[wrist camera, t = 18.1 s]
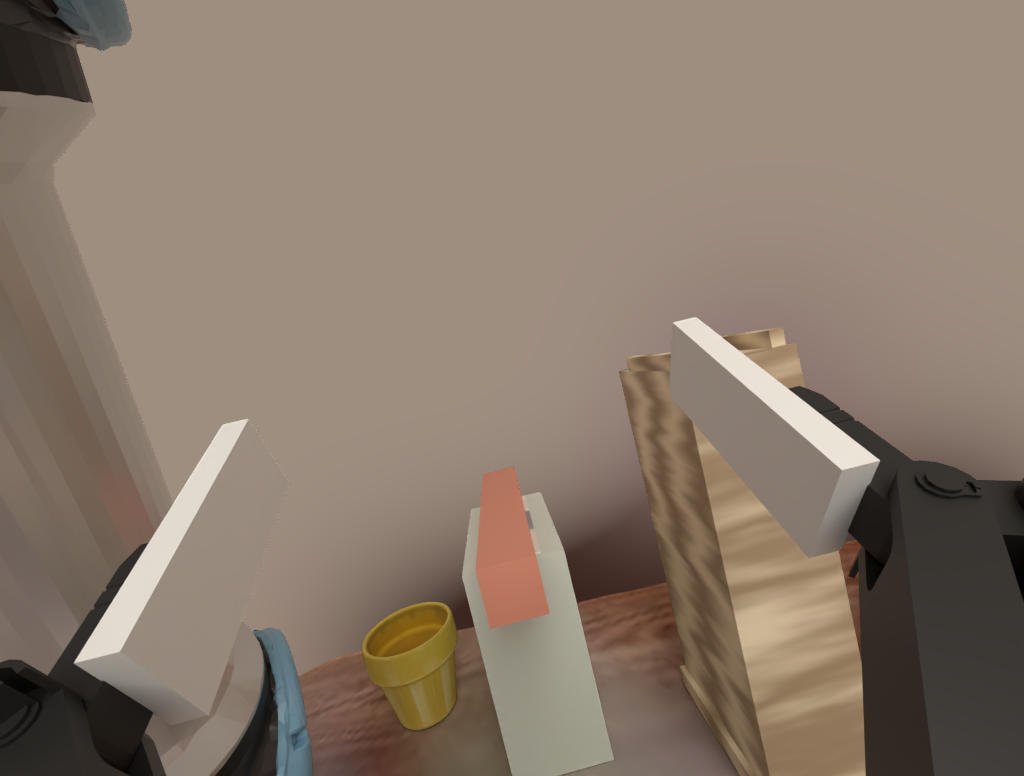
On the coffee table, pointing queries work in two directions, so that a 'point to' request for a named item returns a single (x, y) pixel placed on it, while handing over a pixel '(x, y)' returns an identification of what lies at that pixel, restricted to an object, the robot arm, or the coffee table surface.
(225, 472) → the robot arm
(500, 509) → the coral square-faced block
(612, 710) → the coffee table surface
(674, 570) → the birch stand
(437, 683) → the plant pot
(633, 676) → the coffee table surface
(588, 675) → the pale green paneled block
